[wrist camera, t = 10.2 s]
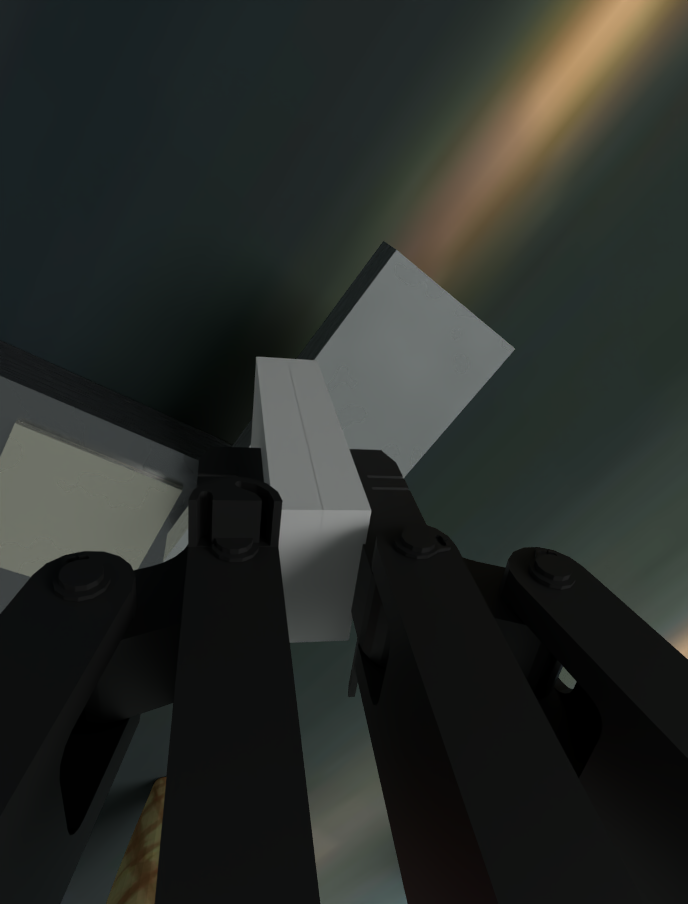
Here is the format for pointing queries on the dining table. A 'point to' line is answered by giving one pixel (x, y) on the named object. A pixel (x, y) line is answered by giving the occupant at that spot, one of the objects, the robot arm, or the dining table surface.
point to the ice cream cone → (142, 854)
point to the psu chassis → (85, 470)
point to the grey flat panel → (394, 364)
